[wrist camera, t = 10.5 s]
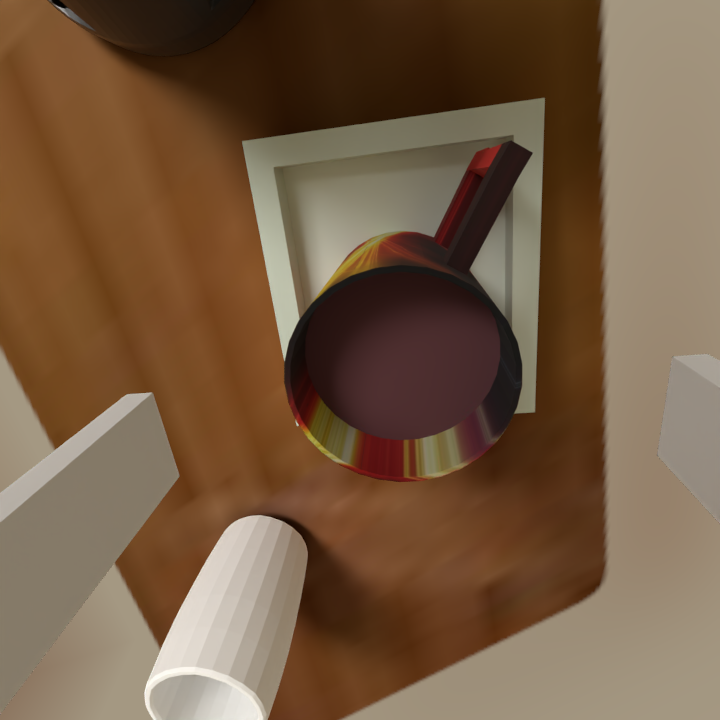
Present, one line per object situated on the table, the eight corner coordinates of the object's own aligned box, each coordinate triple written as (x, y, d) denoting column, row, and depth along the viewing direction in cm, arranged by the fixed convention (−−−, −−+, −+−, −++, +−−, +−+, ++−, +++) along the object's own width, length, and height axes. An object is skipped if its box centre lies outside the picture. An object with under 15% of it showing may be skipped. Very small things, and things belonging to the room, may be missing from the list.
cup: (316, 577, 42) (276, 759, 28) (230, 571, 42) (152, 746, 29) (311, 504, 38) (263, 672, 25) (217, 500, 39) (124, 660, 26)
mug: (487, 152, 25) (554, 130, 14) (471, 374, 30) (511, 485, 19) (320, 158, 26) (260, 142, 15) (332, 372, 31) (293, 478, 20)
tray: (263, 146, 28) (241, 141, 24) (524, 109, 26) (544, 97, 22) (308, 399, 34) (296, 425, 31) (519, 386, 32) (534, 412, 29)
